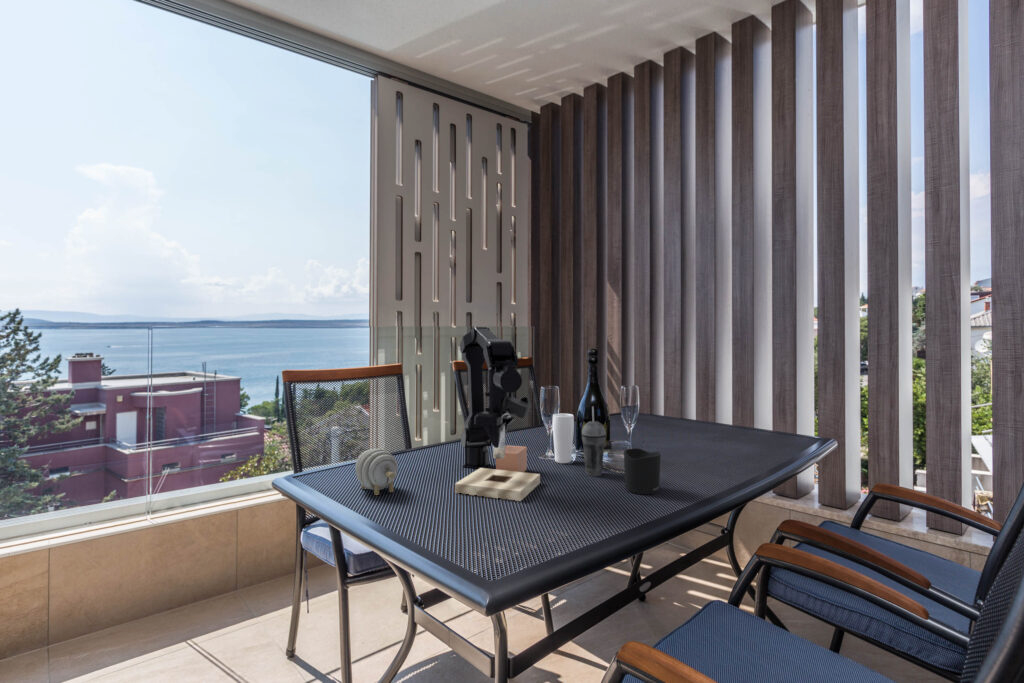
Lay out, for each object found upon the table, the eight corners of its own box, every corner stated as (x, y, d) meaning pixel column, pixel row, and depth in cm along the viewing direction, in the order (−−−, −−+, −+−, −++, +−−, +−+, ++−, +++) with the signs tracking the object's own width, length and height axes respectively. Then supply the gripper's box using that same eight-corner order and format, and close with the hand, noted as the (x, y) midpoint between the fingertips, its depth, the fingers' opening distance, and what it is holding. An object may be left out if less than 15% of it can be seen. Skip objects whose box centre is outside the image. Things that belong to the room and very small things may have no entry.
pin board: (455, 493, 136) (455, 483, 136) (480, 476, 151) (480, 467, 151) (520, 501, 130) (520, 491, 130) (540, 483, 145) (540, 474, 145)
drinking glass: (573, 459, 170) (573, 413, 170) (573, 464, 163) (574, 417, 163) (552, 458, 171) (552, 413, 170) (552, 464, 164) (552, 416, 164)
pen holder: (631, 496, 133) (631, 457, 133) (618, 485, 143) (618, 449, 142) (666, 494, 135) (666, 456, 135) (651, 483, 144) (651, 447, 144)
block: (496, 476, 152) (496, 452, 152) (506, 467, 160) (506, 445, 160) (517, 478, 150) (517, 453, 150) (526, 469, 158) (526, 446, 158)
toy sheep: (377, 480, 147) (377, 441, 147) (413, 493, 136) (413, 451, 135) (343, 488, 140) (342, 447, 139) (377, 503, 128) (377, 458, 128)
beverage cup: (609, 472, 155) (609, 405, 155) (602, 478, 149) (602, 408, 148) (585, 469, 158) (585, 403, 158) (577, 475, 152) (578, 406, 151)
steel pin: (491, 458, 139) (491, 424, 139) (495, 455, 142) (495, 422, 142) (502, 459, 138) (502, 425, 138) (506, 456, 141) (506, 423, 141)
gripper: (514, 393, 128) (514, 457, 128) (538, 385, 145) (538, 441, 146) (473, 391, 132) (473, 453, 132) (501, 383, 149) (501, 438, 150)
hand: (498, 446), depth 140 cm, fingers closed on steel pin, 3 cm apart
